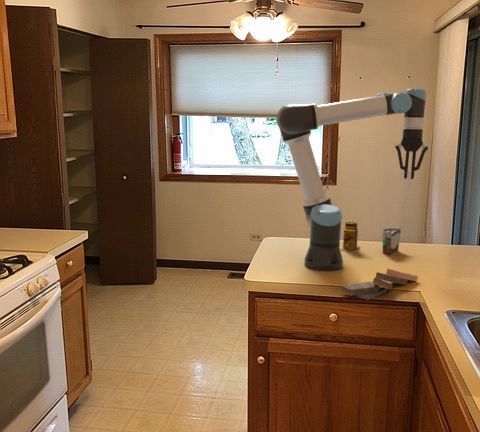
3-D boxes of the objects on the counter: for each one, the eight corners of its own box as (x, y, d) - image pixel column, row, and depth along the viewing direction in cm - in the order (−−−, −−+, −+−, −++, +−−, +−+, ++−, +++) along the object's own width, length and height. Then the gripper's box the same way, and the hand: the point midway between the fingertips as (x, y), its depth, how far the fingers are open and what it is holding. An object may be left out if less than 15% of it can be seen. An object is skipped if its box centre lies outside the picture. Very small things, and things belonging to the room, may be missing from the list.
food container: (385, 248, 240) (387, 226, 238) (399, 250, 236) (401, 228, 234) (375, 253, 230) (377, 231, 228) (389, 256, 226) (391, 233, 224)
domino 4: (406, 285, 190) (387, 281, 182) (394, 281, 194) (375, 277, 186) (407, 279, 190) (388, 275, 182) (396, 276, 194) (376, 272, 186)
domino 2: (386, 294, 183) (367, 302, 174) (373, 290, 186) (354, 298, 178) (386, 288, 182) (368, 296, 174) (374, 284, 186) (355, 292, 177)
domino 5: (416, 281, 194) (397, 277, 186) (405, 278, 198) (386, 273, 190) (418, 276, 194) (399, 271, 186) (406, 272, 198) (387, 268, 190)
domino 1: (379, 291, 179) (349, 295, 174) (369, 287, 183) (340, 290, 178) (379, 286, 178) (350, 290, 173) (370, 281, 183) (341, 285, 178)
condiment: (340, 250, 235) (342, 223, 232) (344, 245, 243) (345, 220, 240) (357, 252, 232) (358, 225, 230) (360, 247, 240) (362, 221, 238)
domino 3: (390, 289, 184) (386, 289, 173) (377, 284, 186) (372, 283, 175) (392, 284, 184) (389, 283, 173) (379, 278, 186) (374, 277, 175)
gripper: (429, 128, 215) (424, 186, 220) (396, 127, 218) (391, 184, 223) (430, 129, 208) (425, 189, 213) (396, 128, 211) (391, 187, 216)
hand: (408, 186), depth 218 cm, fingers closed
